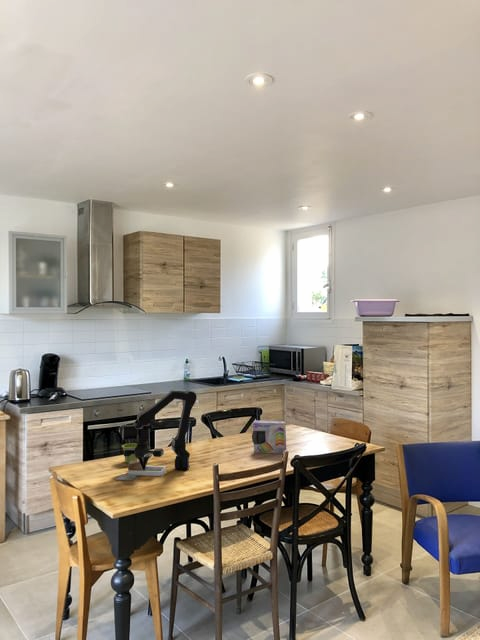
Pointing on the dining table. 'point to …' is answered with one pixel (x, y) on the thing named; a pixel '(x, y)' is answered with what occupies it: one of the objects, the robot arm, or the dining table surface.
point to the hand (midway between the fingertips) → (143, 469)
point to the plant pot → (132, 456)
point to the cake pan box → (269, 436)
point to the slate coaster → (126, 477)
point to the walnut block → (134, 465)
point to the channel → (150, 471)
